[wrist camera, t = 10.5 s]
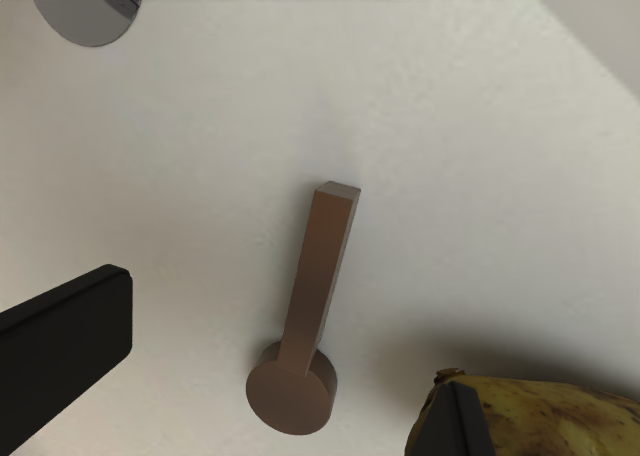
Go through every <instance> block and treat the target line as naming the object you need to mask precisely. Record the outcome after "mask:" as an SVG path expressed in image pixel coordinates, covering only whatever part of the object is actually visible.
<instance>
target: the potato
mask: <svg viewBox="0 0 640 456" xmlns="http://www.w3.org/2000/svg"><path fill="white" fill-rule="evenodd" d="M458 369H459V368H449V369H443V370H440V371H437V372H436V374H437V375H438V376H437V377H436V378H435V379H434V383H435V386H434V387H433V389H432V390H431V391H430V393H429V394H428V397H427V399H426V402H425V404H424V406H423V408H422V410H421V412H420V414H419V417H418V420H417V421H416V422H415V424H414V425H413V427H412V429H411V431H410V434H409V436H408V440H407V444H406V447H405V455H404V456H409V454H410V451H411V449H412V447H413V444H414V442H415V440H416V438H417V436H418V433H419V431H420V429H421V427H422V425H423V422H424V420H425V418H426V416H427V414H428V411H429V409H430V407H431V405H432V402H433V400H434V398H435V396H436V394H437V391H438V389H439V387H440V385H441V384H442V383H444V384H447V385H448V383H449V382H450V381H451V380H453V381H456V382H459V383H462V384H465V385H468V386H471V387H474V388H475V389H476V391H477V393H478V397H479V400H480V403H481V407H482V410H483V413H484V417H485V420H486V423H487V427H488V430H489V433H490V437H491V440H492V443H493V447H494V450H495V453H496V456H640V402H637V401H634V400H631V399H627V398H624V397H621V396H618V395H615V394H611V393H607V392H604V391H600V390H596V389H592V388H587V387H583V386H578V385H573V384H567V383H560V382H543V381H526V380H517V379H508V378H497V377H488V376H477V375H465V370H463V371H459V372H455V371H456V370H458Z"/></svg>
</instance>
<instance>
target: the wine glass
mask: <svg viewBox="0 0 640 456" xmlns="http://www.w3.org/2000/svg"><path fill="white" fill-rule="evenodd" d="M34 2H35V4H36V6H37V8H38V9H39V11H40V12H41V14H42V15H43V17H44V19H45V20H46V21H47V22H48V23H49V24H50V25H51V27H52V28H53V29H54V30H56V31H57V32H58V33H59V34H60V35H61V36H63V37H64V38H66V39H68V40H69V41H71V42H73V43H76V44H79V45H81V46H88V47H97V46H103V45H106V44H108V43H111V42H113V41H114V40H116V39H117V38H119V37H120V36H121V35H122V34H123V33H124V32H125V31H126V30H127V29H128V27H129V26H130V24H131V23H132V21H133V19H134V18H135V15H136V13H137V11H138V8H139V5H140V2H141V0H34Z"/></svg>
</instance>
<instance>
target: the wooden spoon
mask: <svg viewBox="0 0 640 456" xmlns="http://www.w3.org/2000/svg"><path fill="white" fill-rule="evenodd" d="M360 193H361V189H358V188H354V187H351V186H347V185H343V184H339V183H336V182H332V181H330V182H328V183H326V184H325V185H323V186H322V187H320V188H319V189H317V190H316V191H315V194H314V198H313V203H312V207H311V212H310V216H309V221H308V225H307V229H306V234H305V238H304V243H303V247H302V252H301V256H300V261H299V265H298V270H297V274H296V279H295V283H294V287H293V292H292V296H291V301H290V305H289V310H288V314H287V319H286V323H285V328H284V332H283V337H282V341H281V342H278V343H275V344H273V345H271V346H269V347H268V348H267V349H266V350H265V351H264V352H263V354H262V355H261V357H260V358H259V360H258V361H257V363H256V365H255V366H254V368H253V369H252V371H251V373H250V374H249V376H248V379H247V382H246V395H247V399H248V402H249V404H250V406H251V408H252V409H253V411H254V412H255V414H256V415H257V416H258V417H259V418H260V419H261V420H262V421H263V422H264V423H266V424H267V425H268V426H270V427H272V428H273V429H275V430H277V431H280V432H283V433H286V434H290V435H307V434H311V433H314V432H316V431H318V430H320V429H321V428H322V427H323V426H324V425H325V424H326V423H327V421H328V420H329V418H330V415H331V411H332V407H333V403H334V399H335V395H336V390H337V377H336V373H335V370H334V368H333V366H332V364H331V363H330V361H329V360H328V359H327V358H326V357H325V355H323V354H322V353H321V352H320V351H319V350H317V348H318V345H319V342H320V340H321V336H322V332H323V329H324V325H325V321H326V318H327V314H328V310H329V307H330V303H331V299H332V296H333V292H334V288H335V284H336V281H337V277H338V273H339V270H340V266H341V262H342V259H343V255H344V251H345V248H346V244H347V240H348V237H349V233H350V229H351V226H352V222H353V218H354V215H355V211H356V207H357V204H358V200H359V196H360Z"/></svg>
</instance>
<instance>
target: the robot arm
mask: <svg viewBox="0 0 640 456" xmlns="http://www.w3.org/2000/svg"><path fill="white" fill-rule="evenodd" d="M132 307H133V280H132V277H131V276H130V273H129V271H128V270H126V269H123V268H120V267H117V266H115V265H112V264H106V265H103V266H101V267H99V268H97V269H94V270H92V271H90V272H88V273H86V274H84V275H81V276H79V277H77V278H75V279H73V280H71V281H68V282H66V283H64V284H62V285H60V286H58V287H55V288H53V289H51V290H49V291H47V292H45V293H42V294H40V295H38V296H36V297H34V298H32V299H29V300H27V301H25V302H23V303H21V304H19V305H16V306H14V307H12V308H10V309H8V310H6V311H3V312H1V313H0V456H9V455H10V454H11V453H12V452H14V451H15V450H16V449H17V448H18V447H20V446H21V445H22V444H23V443H24V442H26V441H27V440H28V439H29V438H30V437H31V436H33V435H34V434H35V433H36V432H37V431H39V430H40V429H41V428H42V427H43V426H45V425H46V424H47V423H48V422H49V421H51V420H52V419H53V418H54V417H55V416H57V415H58V414H59V413H60V412H61V411H63V410H64V409H65V408H66V407H67V406H69V405H70V404H71V403H72V402H73V401H74V400H76V399H77V398H78V397H79V396H80V395H82V394H83V393H84V392H85V391H86V390H88V389H89V388H90V387H91V386H92V385H94V384H95V383H96V382H97V381H98V380H100V379H101V378H102V377H103V376H104V375H106V374H107V373H108V372H109V371H110V370H111V369H113V368H114V367H115V366H116V365H117V364H119V363H120V362H121V361H122V360H123V359H125V358H126V357H127V356H128V354H129V353H130V351H131V349H132ZM409 456H496V453H495V450H494V447H493V443H492V440H491V437H490V433H489V430H488V427H487V423H486V420H485V417H484V413H483V410H482V407H481V403H480V400H479V397H478V393H477V391H476V389H475V388H474V387H471V386H468V385H465V384H462V383H459V382H456V381H453V380H451V381H450V382H449V383H448V385H447V384H444V383H442V384H441V385H440V387H439V389H438V391H437V394H436V396H435V398H434V400H433V402H432V405H431V407H430V409H429V411H428V414H427V416H426V418H425V420H424V422H423V425H422V427H421V429H420V431H419V433H418V436H417V438H416V440H415V442H414V444H413V447H412V449H411V451H410V454H409Z"/></svg>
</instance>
